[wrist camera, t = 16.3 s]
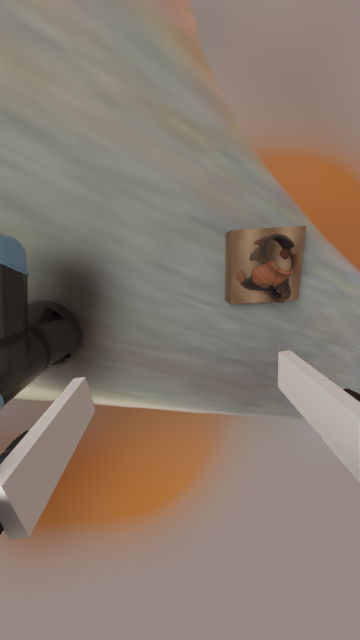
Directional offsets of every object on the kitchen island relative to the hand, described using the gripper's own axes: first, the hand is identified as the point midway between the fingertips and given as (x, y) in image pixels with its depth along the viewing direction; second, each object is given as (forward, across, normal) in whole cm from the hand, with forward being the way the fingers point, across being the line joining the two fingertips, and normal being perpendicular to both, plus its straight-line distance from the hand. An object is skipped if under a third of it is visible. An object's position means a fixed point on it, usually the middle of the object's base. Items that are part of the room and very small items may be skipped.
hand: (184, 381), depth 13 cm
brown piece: (+28, +16, +3) cm, 33 cm away
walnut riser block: (+32, +18, +5) cm, 37 cm away
